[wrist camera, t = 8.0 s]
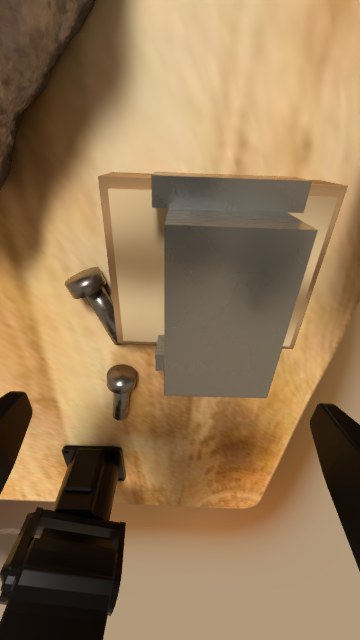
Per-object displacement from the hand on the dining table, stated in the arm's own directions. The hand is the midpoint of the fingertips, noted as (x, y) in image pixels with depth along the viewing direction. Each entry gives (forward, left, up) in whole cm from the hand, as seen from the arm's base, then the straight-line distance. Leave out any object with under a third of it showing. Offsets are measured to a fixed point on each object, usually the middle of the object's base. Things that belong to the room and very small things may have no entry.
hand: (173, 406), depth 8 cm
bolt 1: (-3, +5, -12) cm, 13 cm away
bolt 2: (-12, +5, -12) cm, 18 cm away
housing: (+1, -2, -8) cm, 9 cm away
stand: (+1, -2, -12) cm, 12 cm away
